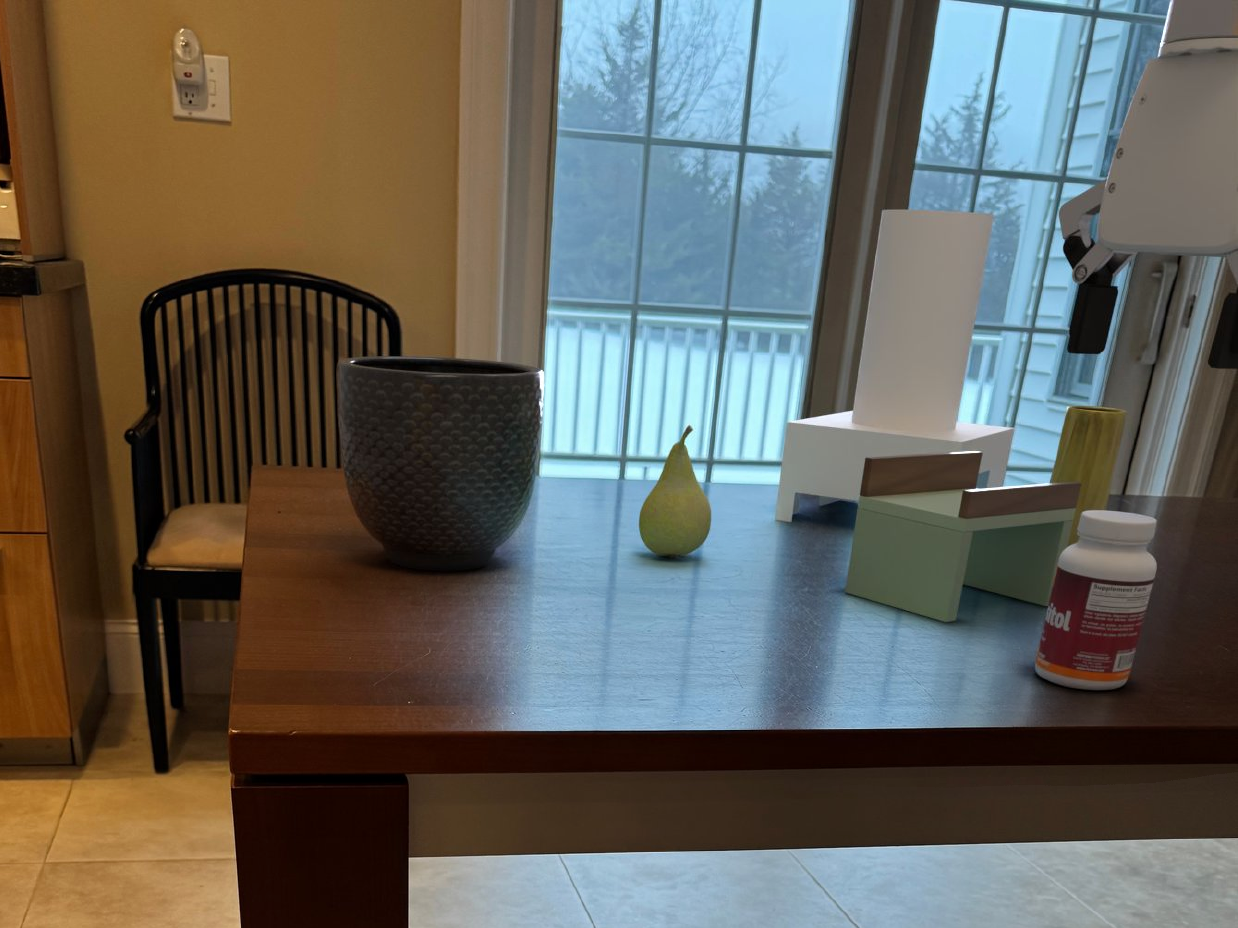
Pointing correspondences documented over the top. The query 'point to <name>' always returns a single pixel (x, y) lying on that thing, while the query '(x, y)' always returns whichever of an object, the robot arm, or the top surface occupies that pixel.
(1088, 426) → the vase
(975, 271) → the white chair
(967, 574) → the stand
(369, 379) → the planter
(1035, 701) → the top surface
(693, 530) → the fruit
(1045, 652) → the pill bottle
